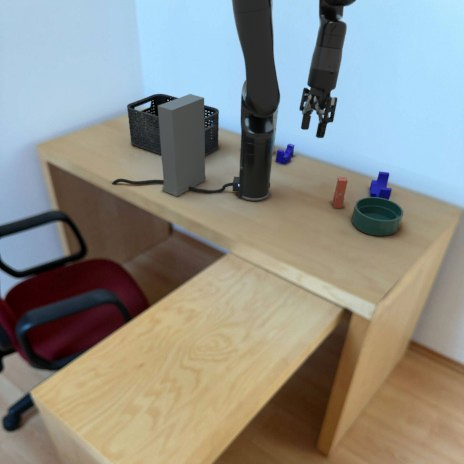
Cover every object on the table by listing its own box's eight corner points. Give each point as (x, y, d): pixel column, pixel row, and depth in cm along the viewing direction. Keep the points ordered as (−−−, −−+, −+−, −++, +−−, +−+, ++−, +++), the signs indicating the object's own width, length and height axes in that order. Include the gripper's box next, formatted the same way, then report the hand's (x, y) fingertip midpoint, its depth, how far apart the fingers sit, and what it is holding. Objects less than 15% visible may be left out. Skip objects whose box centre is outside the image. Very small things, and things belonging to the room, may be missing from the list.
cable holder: (284, 164, 151) (285, 153, 148) (275, 161, 152) (276, 150, 149) (296, 157, 155) (298, 146, 153) (288, 154, 157) (289, 143, 154)
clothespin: (334, 208, 130) (339, 181, 124) (332, 202, 132) (337, 175, 127) (342, 208, 130) (348, 181, 124) (340, 202, 132) (346, 176, 127)
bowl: (355, 236, 119) (360, 220, 116) (347, 211, 129) (351, 196, 125) (403, 237, 119) (409, 222, 116) (391, 213, 129) (396, 197, 125)
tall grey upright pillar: (190, 175, 143) (188, 93, 126) (205, 180, 140) (204, 97, 123) (162, 191, 134) (154, 105, 117) (177, 197, 132) (172, 110, 115)
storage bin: (222, 146, 160) (223, 108, 151) (190, 165, 148) (189, 125, 139) (161, 128, 171) (158, 92, 162) (127, 145, 159) (121, 106, 149)
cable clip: (369, 188, 140) (374, 170, 136) (383, 190, 139) (389, 172, 135) (370, 207, 131) (375, 188, 127) (385, 209, 130) (391, 190, 126)
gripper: (299, 62, 116) (288, 126, 125) (326, 70, 106) (312, 140, 115) (323, 64, 119) (311, 127, 128) (352, 72, 108) (337, 140, 117)
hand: (311, 133), depth 121 cm, fingers open, 8 cm apart
